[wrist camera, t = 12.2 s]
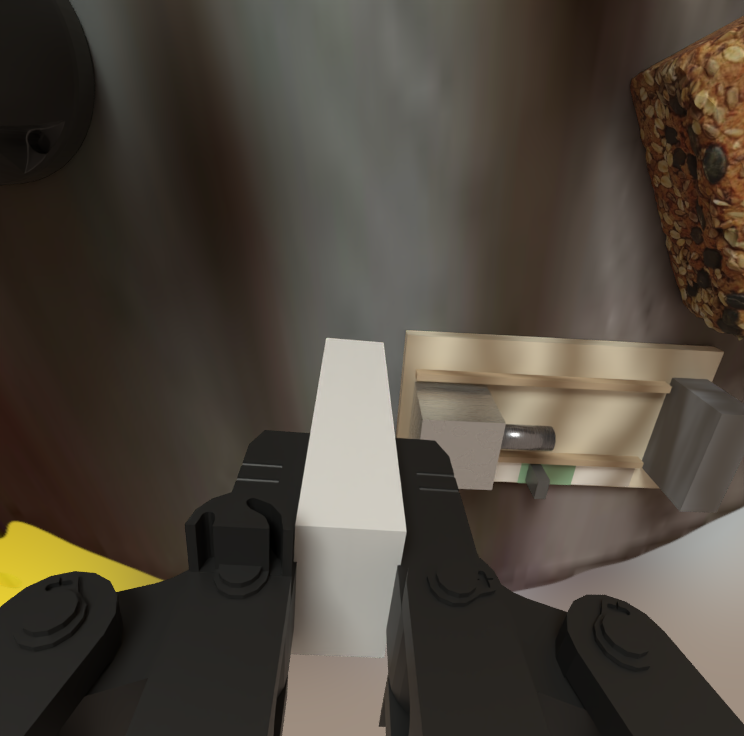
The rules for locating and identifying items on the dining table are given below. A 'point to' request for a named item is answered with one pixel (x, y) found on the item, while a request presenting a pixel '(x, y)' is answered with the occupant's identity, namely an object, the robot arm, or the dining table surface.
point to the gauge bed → (597, 409)
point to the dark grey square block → (537, 481)
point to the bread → (700, 169)
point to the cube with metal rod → (471, 430)
